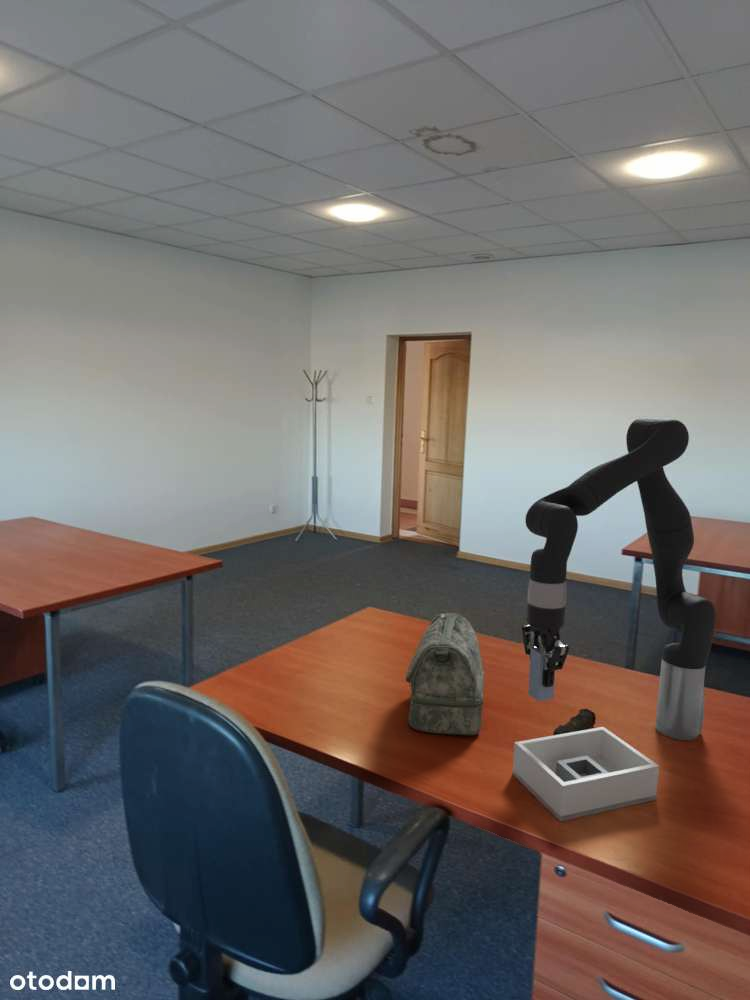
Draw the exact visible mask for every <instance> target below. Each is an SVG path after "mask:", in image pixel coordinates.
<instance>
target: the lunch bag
mask: <svg viewBox="0 0 750 1000" xmlns="http://www.w3.org/2000/svg"><path fill="white" fill-rule="evenodd" d="M482 661H483V660H482V652H481V649H480V644H479V640H478V636H477V635H476V631H475V630H474V628H473V626H472V625H471V623H470V621H468V619H467V618H466V617H464V616H462V615H461V614H458V613H454V612H448V613H443V612H440V613H439V615H435V616H434V618H433V619H432V620H431V622H430V623H429V625H428V627H427V629H426V630H425V631H424V634H423V635H422V637H421V638H420V641H419V643H418V644H417V647H416V649H415V652H414V654H413V657H412V659H411V661H410V663H409V666H408V670H407V671H406V677H405V681H406V683H409V684H410V690H411V693H410V694H411V695H410V707H409V712H408V725H409V727H411V728H413V729H414V730H415V731H416V730H417V731H420V732H421V733H422V732H423V733H430V734H441V735H442V734H443V735H456V736H457V735H458V736H475V735H478V734H480V731H481V729H482V715H483V713H482V712H483V707H484V706H483V704H484V685H485V671H484V667H483V663H482Z"/></svg>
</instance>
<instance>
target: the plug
mask: <svg viewBox="0 0 750 1000" xmlns="http://www.w3.org/2000/svg"><path fill="white" fill-rule="evenodd" d="M550 653H552V651H551V652H546V654H550ZM550 660H551V658H549V659H548V664H549V663H550ZM543 669H544V668H543V658H542V657H541V654H540V649H539V648H536V647H535V648H531V655H530V658H529V675H528V692H527V693H528V695H529V696H530V697H532V698H533V699H534V700H535V701H537V702H542V701H543V702H544V701H549V700H554V695H555V694H554V692H555V683H554V684H553V686H552V687H544V686H543V685H542V679H543ZM555 673H556V672H555ZM555 673H554V680H555V679H556V678H555V677H556V674H555Z"/></svg>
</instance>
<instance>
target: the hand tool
mask: <svg viewBox="0 0 750 1000" xmlns="http://www.w3.org/2000/svg"><path fill="white" fill-rule="evenodd" d="M595 725H596V714H595V712H594V711H592V710H591V709H588V708H581V709H580V710H578V714H576V715H575V716H571V717H570V719H569V721H568V722H566V723H565V724H564V725H562V724H560V725H558V727H557V728H555V729H554V731H553V733H552V736H553V735H559V734H565V733H570V732H576V731H582V730H587V729H588V728H589V726H591V727H593V726H595Z"/></svg>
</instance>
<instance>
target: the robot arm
mask: <svg viewBox="0 0 750 1000" xmlns="http://www.w3.org/2000/svg"><path fill="white" fill-rule="evenodd" d="M625 437H626V439H625V440H626V450H627V453H626V454H624V455H621V456H618V457H617V458H615V459H612V460H609V461H606V462H604V463H601V464H599V465H597V466H595V467H593V468H592V469H590V470H589V471H587V472H585V473H583V474H582V475H581V476H579V477H578V478H577V479H575V480H574V481H573V482H571V484H569V485H568V486H566V487H563V488H561V489H558V490H556V491H554V492H552V493H549V494H548V495H545V496H544V497H542V498H540V499H537V501H535V502H533V504H532V505H531V506H530V507H529V509H528V510H527V512H526V515H525V526H526V529H528V531H529V532H531V533H532V534H534V535H536V536H539V537H542V538H545V543H544V546H543V548H538V549H535V550H534V551H533V552H532V554H531V557H530V558H531V559H530V566H529V567H530V568H529V581H528V586H527V600H526V601H527V602H526V603H527V604H526V618H525V621H526V622H527V624H526V625H521V632H522V640H523V646H524V647H523V648H524V653H525V655H528V656H529V659H530V655H531V648H535V647H536V648H539V649H540V654H541V657H542V658H543V668H544V669H543V679H542V685H543V686H544V687H552V686H553V684H554V685H555V679H554V673H556V671H558V670H562V669H563V667H564V665H565V662H566V659H567V656H568V654H569V651H570V647H569V645H568V644H563V643H562V641H561V635H560V631H561V629H562V628H563V626H564V625H565V622H566V606H567V573H568V571H567V569H568V559H569V557H570V555H571V552H572V548H573V546H574V542H575V540H576V537H577V533H578V528H579V523H578V521H579V520H578V517H583V516H587V515H588V516H589V514H591V513H593V512H594V511H596V510H597V509H598V508H599V507H601V506H603V505H604V504H605V503H606V502H607V501H609V500H610V499H612V498H613V497H614V496H615V495H616V494H618V493H619V492H621V491H622V490H624V489H625V488H628V487H629V486H631V485H632V484H634V483H635V482H636V483H637V487H638V491H639V495H640V499H641V504H642V505H641V506H642V510H643V513H644V521H645V529H646V532H647V538H648V542H649V546H650V552H651V557H652V563H653V571H654V577H655V588H656V603H657V606H656V607H657V613H658V616H659V619H660V621H661V622H662V624H663V625H664V626H666V627H667V628H669V629H671V630H674V631H676V632H678V633H681V639H680V642H672V643H668V644H667V643H666V645H664V646H663V648H662V653H661V665H660V673H659V683H658V685H659V686H658V694H657V695H658V696H657V704H656V715H655V725H654V726H655V730H656V731H657V732H658V733H660V734H661V735H663V736H665V737H668V738H669V739H674V740H678V741H685V740H688V741H694V740H696V739H698V738H699V734H700V735H702V734H703V723H704V714H705V704H706V695H705V694H704V684H705V676H706V674H705V673H706V666H707V660H708V658H709V656H710V653H711V650H712V645H713V640H714V632H715V628H716V621H717V618H716V617H717V612H716V608H715V605H714V603H713V602H712V601H711V600H710V599H708V598H705V597H702V596H699V595H697V594H694V593H691V592H687V590H686V587H685V583H684V579H683V568H684V565H685V563H686V561H687V559H688V558H689V556H690V554H691V552H692V550H693V547H694V544H695V536H694V528H693V524H692V517H691V514H690V511H689V509H688V507H687V506H686V503H685V502H684V501H683V499H682V497H681V496H680V495H679V494H678V493H677V491H676V489H675V488H674V487H673V485H672V484H671V482H670V481H669V479H668V477H667V476H666V473H665V469H664V467H665V466H667V465H669V464H671V463H673V462H675V461H676V460H678V459H679V458H680V457H682V456H683V454H684V453H685V452H686V450H687V448H688V446H689V445H688V444H689V442H690V441H689V440H690V438H689V437H690V433H689V431H688V429H687V426H686V424H684V423H683V422H682V421H681V420H678V419H675V418H668V417H667V418H665V417H662V418H661V417H639V418H636V419H634V420H633V421H632V422H631V424H630V425H629V426H628V428H627V432H626V436H625ZM551 651H552V653H550V654H546V652H551ZM549 658H551V660H550V663H549V664H548V659H549Z"/></svg>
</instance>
